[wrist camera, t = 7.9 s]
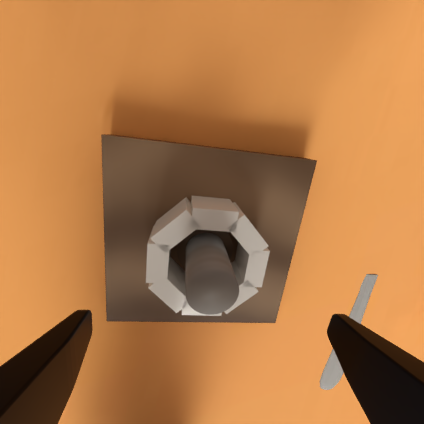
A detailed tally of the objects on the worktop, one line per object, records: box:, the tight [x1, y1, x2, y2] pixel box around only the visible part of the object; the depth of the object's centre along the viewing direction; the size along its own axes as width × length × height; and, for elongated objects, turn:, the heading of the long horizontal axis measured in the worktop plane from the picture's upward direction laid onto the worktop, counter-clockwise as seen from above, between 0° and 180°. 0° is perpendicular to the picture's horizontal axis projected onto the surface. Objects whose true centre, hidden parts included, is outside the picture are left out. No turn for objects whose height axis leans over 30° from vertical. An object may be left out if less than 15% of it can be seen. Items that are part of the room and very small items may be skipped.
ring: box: [146, 196, 270, 316], centre depth 13 cm, size 6×6×2 cm
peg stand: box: [102, 135, 317, 323], centre depth 13 cm, size 12×12×6 cm
